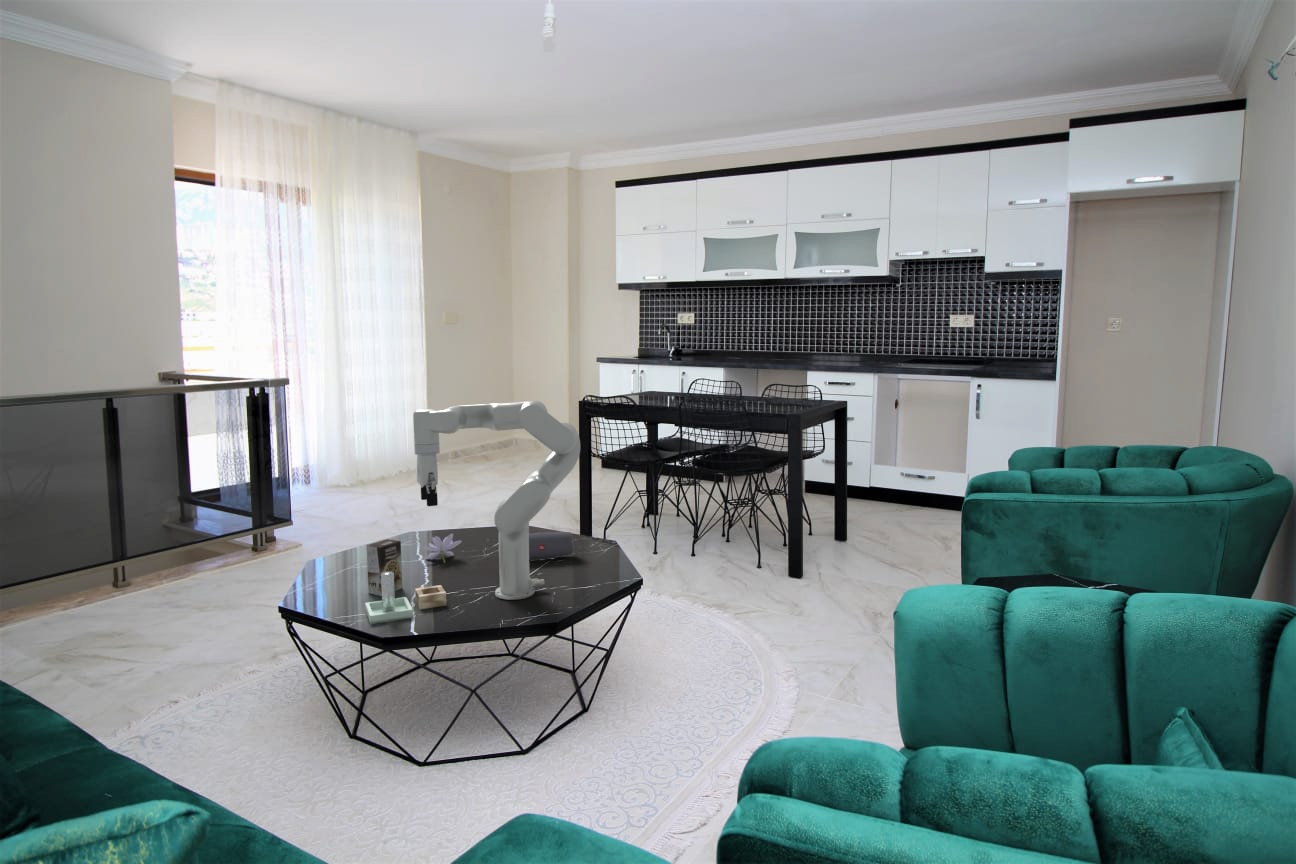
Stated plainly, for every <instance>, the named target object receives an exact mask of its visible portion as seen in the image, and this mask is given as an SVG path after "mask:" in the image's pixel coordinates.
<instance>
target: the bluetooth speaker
mask: <svg viewBox="0 0 1296 864" xmlns="http://www.w3.org/2000/svg"><path fill="white" fill-rule="evenodd" d="M572 537H573V535H572V532H571V531H549V532H548V531H546V532H543V531H542V532H531V533H530V532H529V560H540V559H550V558H555V559H556V558H557V557H558V558H559V557H562V556H570V555H573V549H574V548H573V538H572ZM540 561H541V560H540Z"/></svg>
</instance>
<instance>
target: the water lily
mask: <svg viewBox="0 0 1296 864" xmlns="http://www.w3.org/2000/svg"><path fill="white" fill-rule="evenodd" d="M453 539H454V533H450V534H448V536H446V537H444V539H443V540H442V539H441V538H440V537H439V536H437V535H435V536H431V541H432V543H428V545H423V546H421V548H422V549H425V550H427V551H429V552H430V551H431V553H429V554H428V555H427V556H426V557H425V558H424V560H425V561H426V560H430V559H434V558H436V557H437V556H439V555H440V554H441V557H442V560H443V561H442V562H443V564H446V560H445V556H446V557H453V556H454V552H452V551H450V550H452V549H454V548H455V547H457V546H458V545H460V544H461V543H462V541H463V540H456V541H454V540H453Z"/></svg>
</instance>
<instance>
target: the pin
mask: <svg viewBox="0 0 1296 864" xmlns="http://www.w3.org/2000/svg"><path fill="white" fill-rule="evenodd" d="M381 586H382V596H381V600H382V612H383V613H386V612H392V611H395V597H396V595H395V593H396V592H395V591H394V572H383V573H381Z"/></svg>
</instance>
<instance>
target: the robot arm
mask: <svg viewBox="0 0 1296 864" xmlns="http://www.w3.org/2000/svg"><path fill="white" fill-rule="evenodd" d="M412 417H413V418H412V419H413V421H412V422H413V444H414V455H416V456H417V457H416V471H417V472H416V480H417V483H418V484H419V485H420V499H421V501H426V506H427V507H435V506H437V507H438V506H439V505H438V504H439V503H438V501H439V500H438V490H437V485H438V483H439V480H438V477H439V475H438V473H439V472H438V470H439V469H438V458H437V455H438V454H440V451H441V449H440V434H447V435H450V434H455V433H457V432H458V431H459V430H465V429H477V428H480V429H481V428H482V429H490V430H492V431H511V430H525V431H526V432H527V433H528V434H530V435H531V436H532V437H533V438H535V439H536V440H538V442H540V443H541V444H542V445H544V446H545V447H547V448H548V449H549V450H551V453H550V454H549V455H548V456H547V457H546V458H545V460H543V462H542V463H541V464H539V466H538V467H537V468H536V469H535V470H534V471H532V472H531V473H530V475H528V476H526V477H525V479H524V480H523V481H522V483H521V485H520V486H519V487H518V488H517V489H516V490H515V491H514V492H513V493H512V494H511V495H510V496H508V497H505V498H504V499H503V500H502V501H501V502H500V504H499V505H498V507H497V509H496V511H495V512H494V517H493V521H494V522H493V523H494V525H495V528H496V529H497V530H498V569H499V570H498V572H499V587H497V588H496V589H495V591H494V595H495V596H496V598H498V599H501V600H507V601H508V600H510V601H512V600H513V601H516V600H522V599H527V598H530V597H532V596H533V595H534V594H535V592H536V590H535V588H536V587H537V586H544V585H545V579H544V578H542V579H539V578H537V577H536V578H531V576H530V561H529V533H530V521H531V520H533V518H534V517H535V516H537V514H538V513H539V512H540V511H541V510H543V508H544V507H545V506H546V504H547V503H548V502H549V499H550V497H551V495H552V493H553V491H555V489H557V487H558V486H560V484H561V483H562V482H563V481H564V480H565V478H567V476H568V475H570V473H571V472H572V471H573V469H574V468H575V466H576V465H577V462H578V460H579V458H580V453H581V440H580V436H579V433H578V430H577V428H576V427H575V426H574V425H572V424H571V423H569V422H560V421H559V420H558V419H557V418H555V417H554V416H553V415H551V414H550V413H549V412H548V408H547V407H546V405H545V404H544V403H543V402H541V401H539V400H526V401H525V400H524V401H512V402H497V403H496V402H495V403H486V404H485V403H484V404H467V405H455V406H454V405H453V406H450V407H447V408H445V409H443V410H436V409H435V408H421V409H416V410H414V411H413V414H412Z"/></svg>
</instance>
